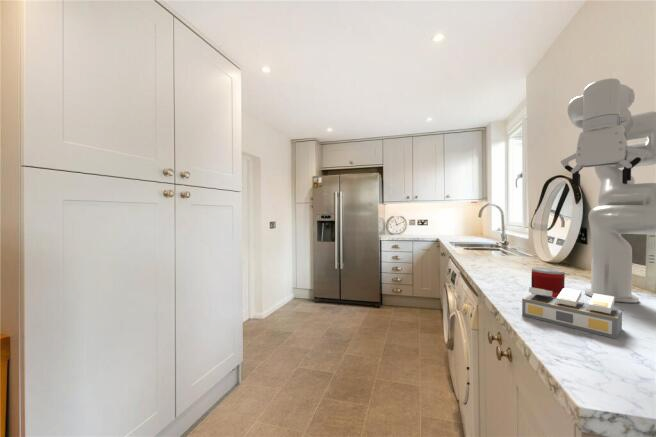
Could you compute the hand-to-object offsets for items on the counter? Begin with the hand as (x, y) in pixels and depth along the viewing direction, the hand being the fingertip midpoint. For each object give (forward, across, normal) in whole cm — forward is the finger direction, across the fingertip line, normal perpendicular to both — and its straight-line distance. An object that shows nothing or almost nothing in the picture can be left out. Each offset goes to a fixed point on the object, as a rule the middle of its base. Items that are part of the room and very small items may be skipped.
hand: (599, 185), depth 77 cm
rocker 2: (+30, +4, +16) cm, 34 cm away
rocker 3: (+30, -2, +16) cm, 34 cm away
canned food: (+37, +11, +3) cm, 39 cm away
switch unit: (+37, +4, +16) cm, 40 cm away
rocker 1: (+30, +10, +16) cm, 36 cm away
